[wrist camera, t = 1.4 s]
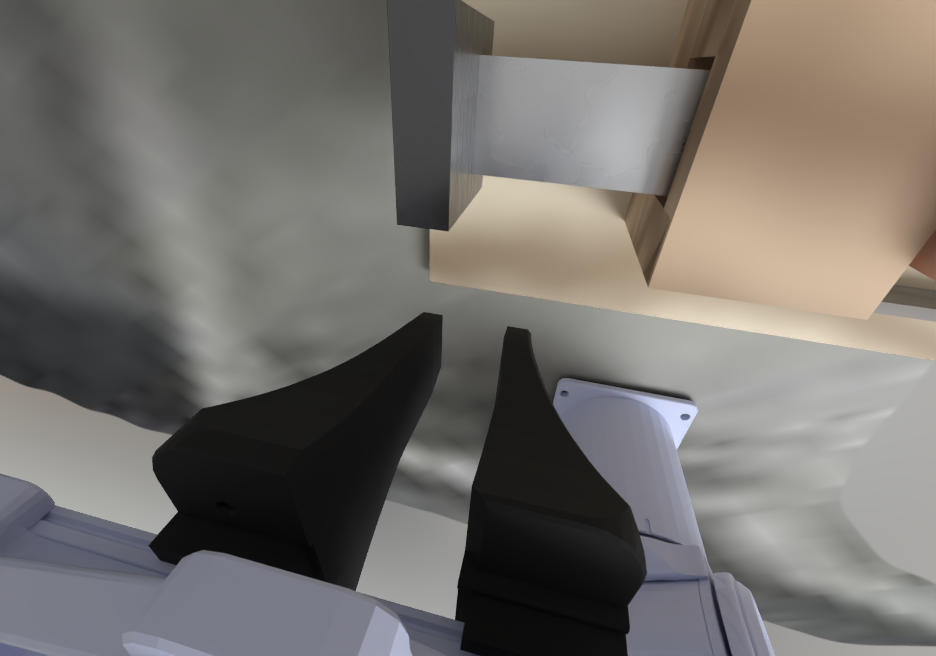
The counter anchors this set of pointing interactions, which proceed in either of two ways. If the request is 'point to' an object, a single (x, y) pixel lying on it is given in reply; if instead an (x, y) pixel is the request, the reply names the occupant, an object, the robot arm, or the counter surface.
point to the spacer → (926, 258)
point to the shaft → (521, 115)
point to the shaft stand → (736, 173)
